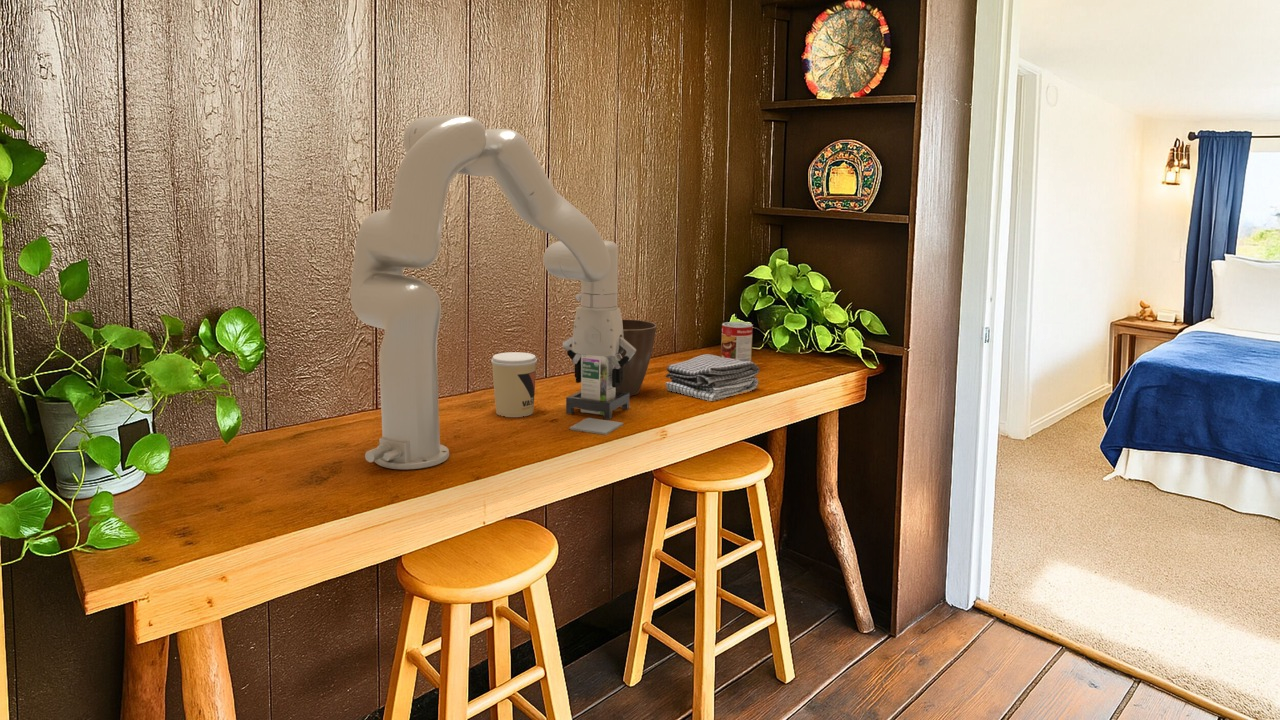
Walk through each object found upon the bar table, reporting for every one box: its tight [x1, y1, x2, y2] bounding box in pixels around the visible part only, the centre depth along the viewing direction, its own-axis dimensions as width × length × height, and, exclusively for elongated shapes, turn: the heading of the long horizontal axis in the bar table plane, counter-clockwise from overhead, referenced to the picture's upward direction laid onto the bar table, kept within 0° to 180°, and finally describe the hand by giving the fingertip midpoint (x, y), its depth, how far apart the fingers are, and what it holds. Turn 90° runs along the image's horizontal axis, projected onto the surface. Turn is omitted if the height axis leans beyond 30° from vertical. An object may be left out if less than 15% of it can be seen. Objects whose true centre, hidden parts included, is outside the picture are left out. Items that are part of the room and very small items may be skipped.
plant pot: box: [616, 318, 657, 397], centre depth 198 cm, size 15×15×16 cm
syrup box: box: [580, 355, 616, 416], centre depth 182 cm, size 6×6×14 cm
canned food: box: [720, 321, 754, 362], centre depth 224 cm, size 8×8×12 cm
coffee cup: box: [490, 351, 538, 418], centre depth 180 cm, size 9×9×12 cm
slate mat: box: [568, 417, 624, 436], centre depth 171 cm, size 8×8×1 cm
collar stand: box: [565, 390, 631, 421], centre depth 183 cm, size 10×10×4 cm
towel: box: [665, 353, 760, 402], centre depth 203 cm, size 15×18×8 cm
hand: (598, 383), depth 182 cm, fingers open, 7 cm apart
